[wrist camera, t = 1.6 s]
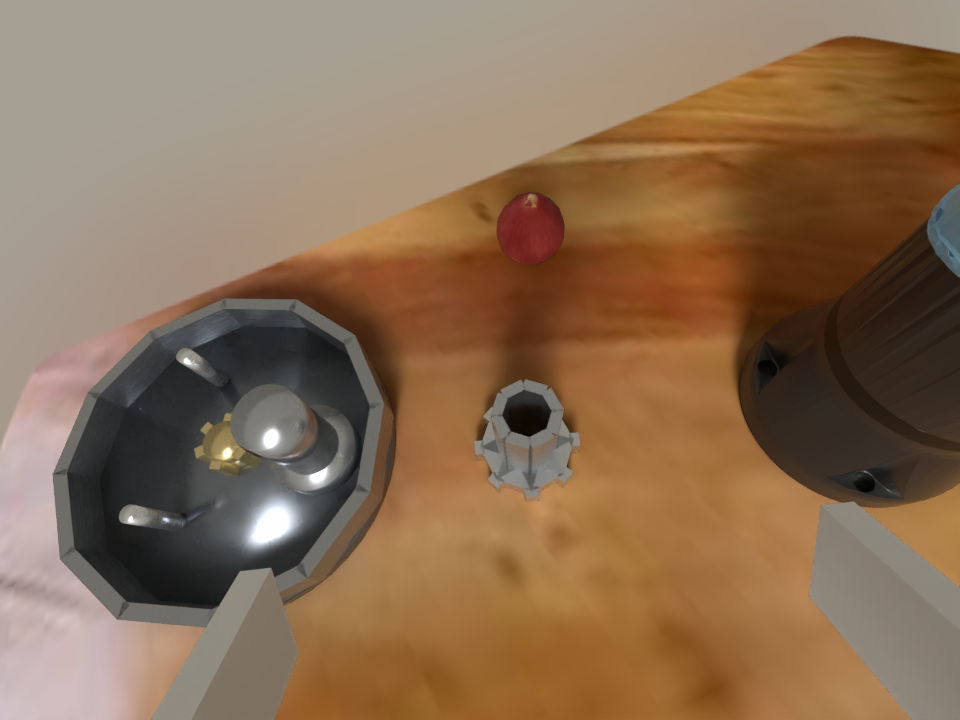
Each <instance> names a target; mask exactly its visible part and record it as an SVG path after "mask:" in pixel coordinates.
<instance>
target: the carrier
mask: <svg viewBox="0 0 960 720" xmlns="http://www.w3.org/2000/svg"><path fill="white" fill-rule="evenodd" d="M395 446H396V435H395V421H394V415H393V411H392V406H391V403H390V400H389V397H388V394H387V391H386V389H385V387H384V385H383V383H382V381H381V379H380V377H379V375H378V374H377V372H376V371H375V369H374V368H373V366H372V364H371V361H370V359H369V357H368V354H367V352H366V350H365V349H364V347H363V346H362V345H361V343H360V342H359V340H358V339H357V337H356V336H355V335H354V334H352V333H351V332H349V331H347V330H346V329H344V328H342V327H341V326H339V325H338V324H336V323H334V322H333V321H331V320H329V319H328V318H326V317H325V316H323V315H321V314H320V313H318V312H316V311H315V310H313V309H312V308H310V307H308V306H307V305H305V304H303V303H302V302H300V301H299V300H297V299H222V300H220V301H217V302H215V303H213V304H210V305H208V306H206V307H204V308H201V309H199V310H197V311H194V312H192V313H190V314H188V315H185V316H183V317H181V318H178V319H176V320H174V321H172V322H169V323H167V324H165V325H162V326H160V327H158V328H156V329H153V330H151V331H149V332H148V333H147V334H146V335H145V336H144V337H143V338H142V339H141V340H140V341H139V342H138V343H137V344H136V345H135V346H134V347H133V348H132V349H131V350H130V351H129V352H128V353H127V354H126V355H125V356H124V357H123V358H122V359H121V360H120V361H119V362H118V363H117V364H116V365H115V366H114V367H113V368H112V369H111V370H110V371H109V372H108V373H107V374H106V375H105V376H104V377H103V378H102V379H101V380H100V381H99V382H98V383H97V384H96V385H95V386H94V387H93V388H92V389H91V390H90V391H89V392H88V393H87V396H86V398H85V400H84V403H83V405H82V407H81V410H80V412H79V414H78V417H77V419H76V421H75V424H74V426H73V428H72V431H71V433H70V435H69V438H68V440H67V442H66V445H65V447H64V449H63V452H62V454H61V456H60V459H59V461H58V463H57V466H56V468H55V470H54V473H53V483H54V495H55V507H56V518H57V530H58V541H59V553H60V560H61V561H62V562H63V563H64V564H65V565H66V566H67V567H68V568H69V569H70V570H71V571H72V572H73V573H74V574H75V576H76V577H77V578H78V579H79V580H80V581H81V582H82V583H83V584H84V585H85V586H86V587H87V588H88V589H89V590H90V591H91V592H92V593H93V595H94V596H95V597H96V598H97V599H98V600H99V601H100V602H101V603H102V604H103V605H104V606H105V607H106V608H107V609H108V610H109V611H110V612H111V613H112V615H113V616H114V617H115V618H116V619H117V620H129V621H140V622H151V623H162V624H173V625H184V626H195V627H207V625H208V623H209V622H210V620H211V618H212V617H213V615H214V614H215V612H216V610H217V609H218V607H219V605H220V604H221V602H222V600H223V599H224V597H225V595H226V594H227V592H228V590H229V589H230V587H231V585H232V584H233V582H234V580H235V579H236V577H237V575H238V574H239V572H240V571H247V570H256V569H265V568H271V569H272V572H273V575H274V578H275V581H276V584H277V587H278V590H279V593H280V596H281V599H282V602H283V605H286V604H288V603H291V602H293V601H294V600H296V599H298V598H299V597H301V596H303V595H304V594H306V593H308V592H309V591H311V590H312V589H314V588H315V587H316V586H317V585H319V584H320V583H321V582H323V581H324V580H325V579H326V578H328V577H329V576H330V575H331V574H332V573H333V572H334V571H335V570H336V569H337V568H338V567H339V566H340V565H341V564H342V563H343V562H344V561H345V560H346V559H347V558H348V557H349V556H350V555H351V553H352V552H353V551H354V550H355V548H356V547H357V546H358V545H359V543H360V542H361V541H362V539H363V538H364V536H365V535H366V533H367V531H368V530H369V528H370V527H371V525H372V523H373V522H374V520H375V518H376V516H377V514H378V512H379V509H380V507H381V505H382V503H383V501H384V498H385V495H386V492H387V489H388V486H389V483H390V480H391V475H392V470H393V465H394V459H395Z"/></svg>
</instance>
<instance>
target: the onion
mask: <svg viewBox="0 0 960 720" xmlns="http://www.w3.org/2000/svg"><path fill="white" fill-rule="evenodd" d="M497 238H498V240H499V243H500V246H501V249H502V251H503V252H504V253H505V254H506V255H507V256H508V257H509V258H510V259H512V260H513V261H515V262H518V263H520V264H525V265H534V264H538V263H541V262H543V261H545V260H546V259H548V258H550V257H551V256H553V255H554V254H555V253H556V251H557V250H558V249H559V247H560V246H561V244H562V242H563V238H564V220H563V217H562V215H561V212H560V210H559V208H558V206H557V205H556V204H555V203H554V202H553V201H552V200H551V199H550V198H548V197H546V196H544V195H542V194H540V193H532V192H528V193H524V194H521V195H518V196H516V197H515V198H514V199H513V200H512V201H511V202H510V203H508V204H507V205H506V206H505V207H504V209H503V211H502V212H501V214H500V216H499V218H498V224H497Z"/></svg>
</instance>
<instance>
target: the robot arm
mask: <svg viewBox="0 0 960 720" xmlns="http://www.w3.org/2000/svg"><path fill="white" fill-rule="evenodd" d="M740 399H741V405H742V409H743V413H744V416H745V419H746V421H747V424H748V426H749V428H750V430H751V432H752V434H753V436H754V437H755V439H756V440H757V442H758V443H759V445H760V446H761V448H762V449H763V450H764V451H765V453H766V454H767V455H768V456H769V457H770V458H771V460H772V461H773V462H774V463H775V464H776V465H777V466H778V467H780V468H781V469H782V470H783V471H784V472H785V473H787V474H788V475H789V476H790V477H792V478H793V479H794V480H796V481H797V482H799V483H800V484H802V485H804V486H805V487H807V488H809V489H810V490H812V491H814V492H816V493H818V494H821V495H823V496H825V497H828V498H830V499H833V500H836V501H839V502H843V503H836V504H828V505H821V507H820V514H819V522H818V530H817V537H816V545H815V553H814V560H813V568H812V576H811V583H810V591H809V597H810V599H811V600H812V601H813V602H814V603H815V604H816V606H817V607H818V608H819V609H820V610H821V612H822V613H823V614H824V615H825V616H826V618H827V619H828V620H829V621H830V622H831V624H832V625H833V626H834V627H835V628H836V630H837V631H838V632H839V633H840V634H841V636H842V637H843V638H844V639H845V640H846V642H847V643H848V644H849V645H850V646H851V648H852V649H853V650H854V651H855V652H856V654H857V655H858V656H859V657H860V658H861V660H862V661H863V662H864V663H865V664H866V666H867V667H868V668H869V669H870V670H871V671H872V673H873V674H874V675H875V676H876V677H877V679H878V680H879V681H880V682H881V683H882V685H883V686H884V687H885V688H886V689H887V691H888V692H889V693H890V694H891V695H892V697H893V698H894V699H895V700H896V701H897V703H898V704H899V705H900V706H901V707H902V709H903V710H904V711H905V712H906V713H907V715H908V716H909V717H910V718H911V719H912V720H960V587H958V586H957V585H956V584H955V583H953V582H952V581H951V580H950V579H949V578H947V577H946V576H945V575H944V574H942V573H941V572H940V571H939V570H937V569H936V568H935V567H934V566H933V565H931V564H930V563H929V562H928V561H926V560H925V559H924V558H923V557H921V556H920V555H919V554H918V553H916V552H915V551H914V550H913V549H912V548H910V547H909V546H908V545H907V544H905V543H904V542H903V541H902V540H900V539H899V538H898V537H897V536H895V535H894V534H893V533H892V532H891V531H889V530H888V529H887V528H886V527H884V526H883V525H882V524H881V523H879V522H878V521H877V520H876V519H874V518H873V517H872V516H871V515H870V514H868V513H867V512H866V511H865V510H863V509H862V508H861V507H860V506H862V507H875V508H882V507H894V506H900V505H904V504H909V503H914V502H918V501H923V500H927V499H930V498H933V497H935V496H938V495H940V494H942V493H944V492H946V491H948V490H950V489H952V488H953V487H955V486H956V485H958V484H959V483H960V183H959V184H958V185H956V186H955V187H954V188H952V189H951V190H950V191H949V192H948V193H947V194H946V195H945V196H944V197H943V198H942V199H941V200H940V201H939V202H938V203H937V204H936V206H935V207H934V208H933V210H932V212H931V216H930V217H929V218H928V219H927V220H926V221H925V222H924V223H923V224H921V225H920V226H919V227H918V228H917V229H916V230H915V231H914V232H912V233H911V234H910V235H909V236H908V237H907V238H906V239H905V240H903V241H902V242H901V243H900V244H899V245H898V246H897V247H896V248H894V249H893V250H892V251H891V252H890V253H889V254H888V255H887V256H885V257H884V258H883V259H882V260H881V261H880V262H879V263H878V264H876V265H875V266H874V267H873V268H872V269H871V270H870V271H869V272H867V273H866V274H865V275H864V276H863V277H862V278H861V279H860V280H858V281H857V282H856V283H855V284H854V285H853V286H852V287H851V288H850V289H849V290H848V291H847V292H846V293H845V294H843V295H841V296H839V297H836V298H833V299H830V300H828V301H825V302H822V303H819V304H817V305H814V306H811V307H809V308H806V309H803V310H800V311H798V312H795V313H793V314H791V315H789V316H787V317H786V318H784V319H782V320H781V321H779V322H778V323H777V324H775V325H774V326H773V327H772V328H771V329H770V330H769V331H767V332H766V334H765V335H764V336H763V337H762V338H761V339H760V340H759V341H758V342H757V343H756V344H755V345H754V347H753V348H752V349H751V351H750V352H749V354H748V356H747V358H746V360H745V362H744V365H743V368H742V372H741V377H740ZM298 654H299V651H298V648H297V645H296V642H295V639H294V636H293V633H292V629H291V626H290V623H289V620H288V617H287V614H286V611H285V608H284V605H283V602H282V599H281V596H280V593H279V590H278V587H277V584H276V581H275V578H274V575H273V572H272V569H271V568H265V569H256V570H247V571H240V572H239V574H238V575H237V577H236V579H235V580H234V582H233V584H232V585H231V587H230V589H229V590H228V592H227V594H226V595H225V597H224V599H223V600H222V602H221V604H220V605H219V607H218V609H217V610H216V612H215V614H214V615H213V617H212V618H211V620H210V622H209V623H208V625H207V627H206V628H205V630H204V632H203V633H202V635H201V637H200V638H199V640H198V642H197V643H196V645H195V647H194V648H193V650H192V652H191V653H190V655H189V657H188V658H187V660H186V662H185V663H184V665H183V667H182V668H181V670H180V672H179V673H178V675H177V677H176V678H175V680H174V682H173V683H172V685H171V687H170V688H169V690H168V691H167V693H166V695H165V696H164V698H163V700H162V701H161V703H160V705H159V706H158V708H157V710H156V711H155V713H154V715H153V716H152V718H151V720H274V719H275V716H276V714H277V711H278V708H279V706H280V703H281V700H282V697H283V695H284V692H285V689H286V687H287V684H288V681H289V678H290V676H291V673H292V670H293V668H294V665H295V662H296V659H297V657H298Z"/></svg>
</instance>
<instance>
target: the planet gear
mask: <svg viewBox="0 0 960 720" xmlns="http://www.w3.org/2000/svg"><path fill="white" fill-rule="evenodd" d="M547 389H548V385H544V384H541V383H537V382H533V381H530V380H526V379H525V381H524V384H523V382H522V380H519V381H517V382H515V383H513V384H511V385H509V386H507V387H505V388H503V389H501V390H500V391H501V394H500V393H497V396H496V399H495V402H494V405H493V407H491V408H490V409H489V410H488V412H487V413H486V414H485V415H484V416H483V418H484V422H485V424H486V425H487V429H486V431H485V434H484V437H483V440H482V441H474V442H475V455H476V458H477V460H478V461H479V460H486V462H487V464H488V466H489V468H490V470H491V472H492V474H491V475H490V477H489V478H488V482H489V484H490V485H491V486H492V487H493V488H494V489H495V490H496V491H498V492H499V493H500V492H501V490H502V489H503V488H504V487H506V488H509V489H512V490H515V491H518V492H521V493H524V494H525V502H528V501H539V492H540V491H542V490H544V489H545V488H547V487H549V486H551V485H553V484H555V483H557V484H558V485H560V486H561V487H562V488H563V487H564V486H565V485H566V483H567V482H568V481H569V479H570V478H571V476H572V474H573V472H572V471H571V470H570V469H569V468H567V463H568V459H569V456H570V453H576V452H578V450H579V447H580V441H579V435H578V432H576V433H570V432H569V430H568V429H567V427H566V425H565V424H564V422H563V420H562V417H563V413H564V409H563V407H562V405H561V403H560V402H559V400H558V398H557V397H556V395H555V393H554V392H553V390H552V389H551V388H550V389H548V390H547ZM524 431H525V432H529V433H532V434H535V435H533V436H531V437H527V436H524V435H521V434H520V433H522V432H524Z"/></svg>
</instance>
